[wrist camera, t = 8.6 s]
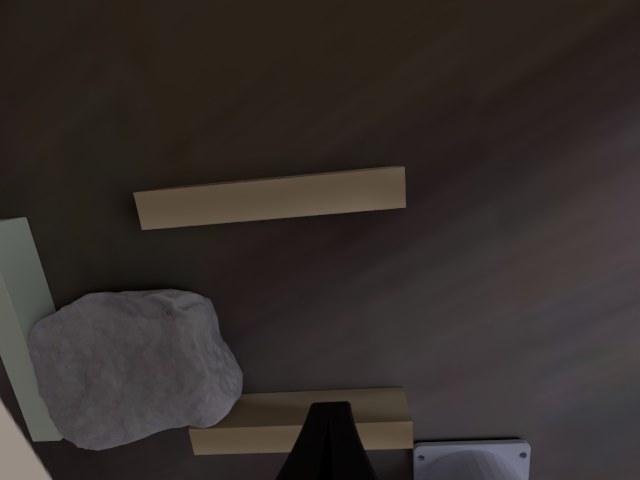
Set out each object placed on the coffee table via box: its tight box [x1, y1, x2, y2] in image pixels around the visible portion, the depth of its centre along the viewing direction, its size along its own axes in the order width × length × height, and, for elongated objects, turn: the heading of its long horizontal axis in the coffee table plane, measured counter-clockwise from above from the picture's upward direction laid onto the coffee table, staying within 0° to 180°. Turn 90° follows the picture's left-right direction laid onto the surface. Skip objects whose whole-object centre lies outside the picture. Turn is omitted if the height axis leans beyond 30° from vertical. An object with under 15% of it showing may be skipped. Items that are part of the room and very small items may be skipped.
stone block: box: [29, 289, 243, 450], centre depth 21 cm, size 12×5×10 cm
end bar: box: [0, 217, 63, 441], centre depth 21 cm, size 15×2×2 cm, turn 5°
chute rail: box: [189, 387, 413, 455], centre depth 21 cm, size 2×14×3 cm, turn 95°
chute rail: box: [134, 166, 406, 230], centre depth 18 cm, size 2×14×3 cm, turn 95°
